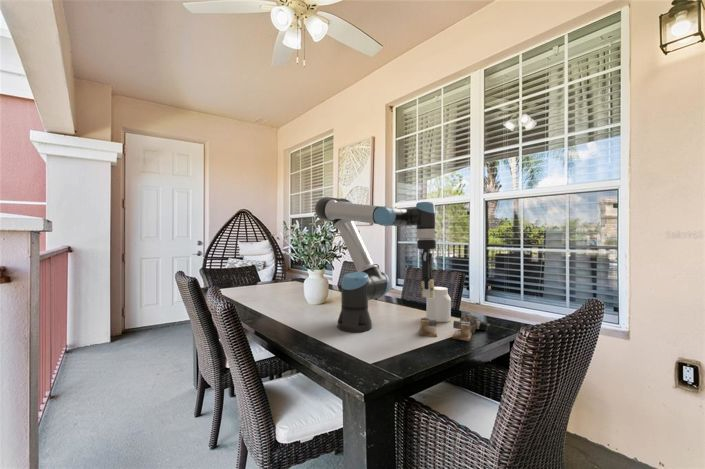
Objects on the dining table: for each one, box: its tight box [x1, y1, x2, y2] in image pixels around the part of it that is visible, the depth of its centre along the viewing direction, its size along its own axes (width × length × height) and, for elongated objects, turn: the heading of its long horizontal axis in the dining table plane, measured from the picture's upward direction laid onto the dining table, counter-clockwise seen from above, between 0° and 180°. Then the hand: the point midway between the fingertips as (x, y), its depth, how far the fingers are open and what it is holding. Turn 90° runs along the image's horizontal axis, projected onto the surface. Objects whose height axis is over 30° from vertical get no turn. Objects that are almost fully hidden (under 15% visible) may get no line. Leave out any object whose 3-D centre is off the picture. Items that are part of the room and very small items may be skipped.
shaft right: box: [451, 320, 473, 342], centre depth 132 cm, size 6×8×6 cm
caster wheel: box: [459, 312, 489, 334], centre depth 142 cm, size 7×11×10 cm
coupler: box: [420, 278, 435, 298], centre depth 135 cm, size 5×5×7 cm
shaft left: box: [419, 317, 438, 337], centre depth 136 cm, size 6×8×6 cm
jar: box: [425, 286, 452, 323], centre depth 157 cm, size 12×10×15 cm
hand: (427, 295), depth 135 cm, fingers closed on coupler, 5 cm apart
